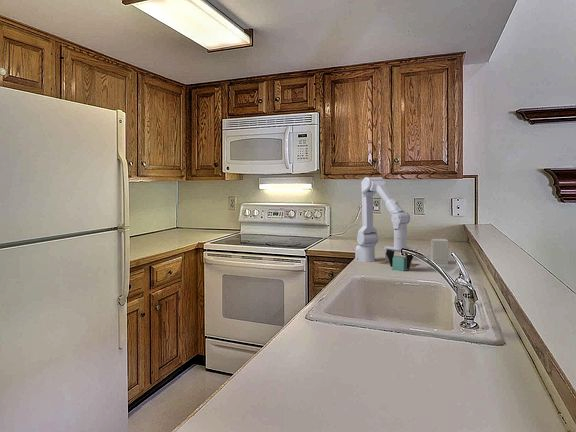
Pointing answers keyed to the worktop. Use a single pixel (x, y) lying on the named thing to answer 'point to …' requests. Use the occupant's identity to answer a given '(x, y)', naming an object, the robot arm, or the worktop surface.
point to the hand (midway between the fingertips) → (399, 267)
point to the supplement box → (439, 251)
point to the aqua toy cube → (399, 263)
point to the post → (386, 259)
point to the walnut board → (389, 264)
